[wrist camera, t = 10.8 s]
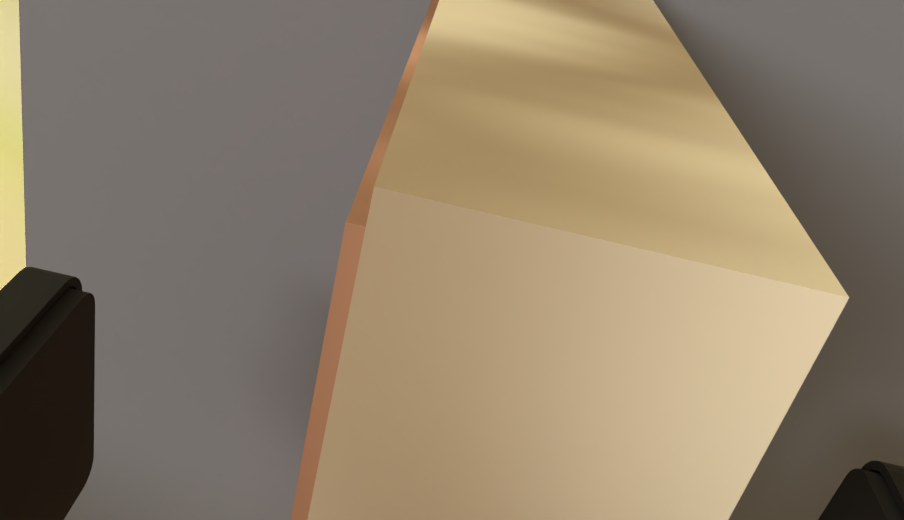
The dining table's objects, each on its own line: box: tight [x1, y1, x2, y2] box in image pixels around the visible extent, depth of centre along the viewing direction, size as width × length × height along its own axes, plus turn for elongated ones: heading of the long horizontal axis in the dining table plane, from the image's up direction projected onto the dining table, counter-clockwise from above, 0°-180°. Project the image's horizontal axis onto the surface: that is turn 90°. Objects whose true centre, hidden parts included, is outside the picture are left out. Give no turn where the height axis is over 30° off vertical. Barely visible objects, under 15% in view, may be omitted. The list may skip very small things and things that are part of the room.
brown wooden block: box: [290, 0, 849, 520], centre depth 11 cm, size 3×12×8 cm, turn 167°
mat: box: [19, 0, 904, 520], centre depth 14 cm, size 16×16×1 cm
